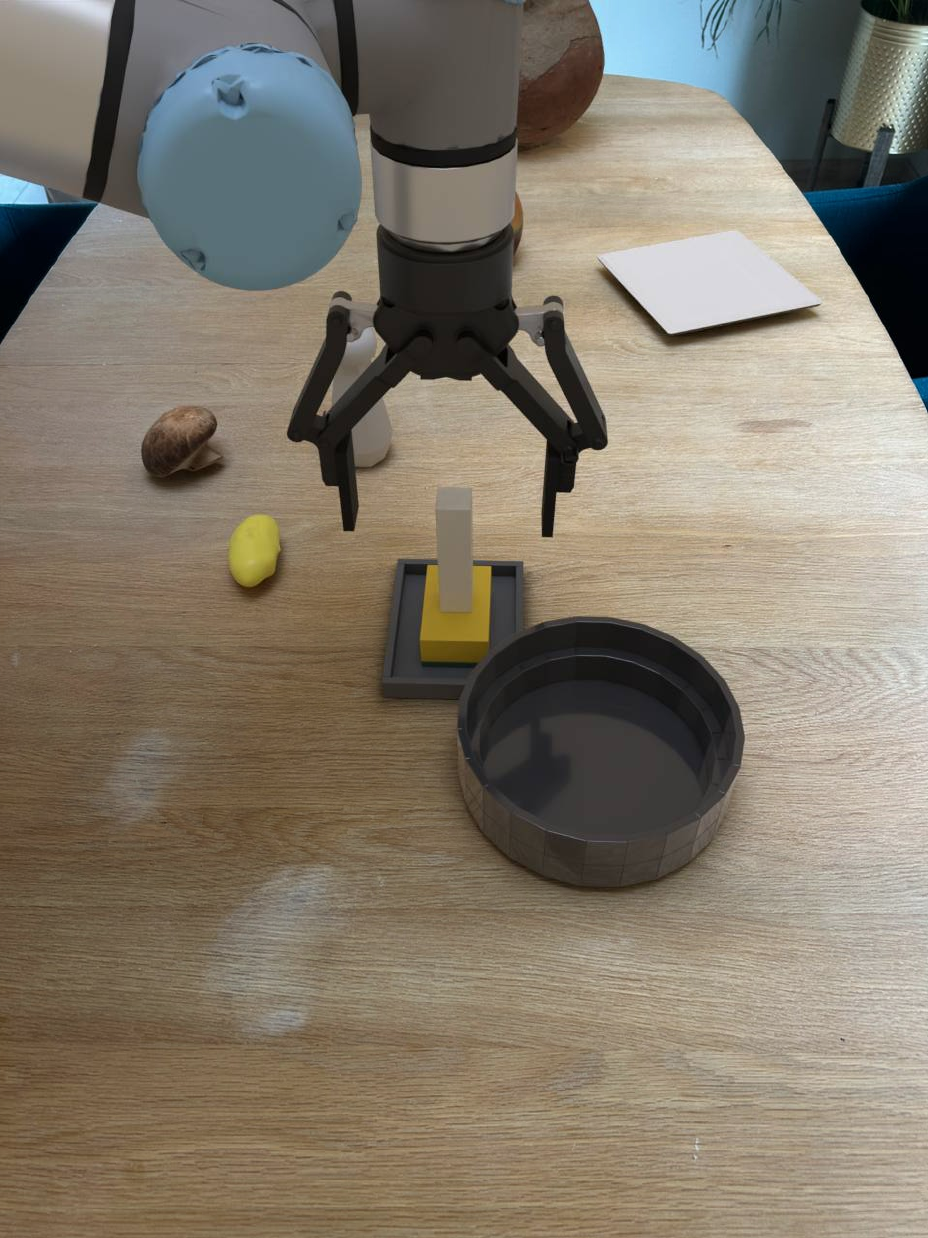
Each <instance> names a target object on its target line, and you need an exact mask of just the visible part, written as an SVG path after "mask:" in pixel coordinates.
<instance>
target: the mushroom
mask: <svg viewBox="0 0 928 1238" xmlns="http://www.w3.org/2000/svg"><path fill="white" fill-rule="evenodd" d="M217 428H218V421H217V417H216V416H215V414H214V413H213V412H212V411H211V410H209V409H208V408H206V407H203V406H200V405H199V406H197V405H184V406H183V405H182V406H177V407H174V408H172V409H170V410H167V411H166V412H164V413H163V414H162V415H161V416H159V418H157V420H156V421H154V423H152V425H151V426H150V427H149V429H148V430H147V431H146V433H145V436H144V437H143V440H142V442H141V447H140V448H141V449H140V455H141V461H142V464H143V466H144V468H145V470H146V471H147V472H148V473H149V474H150V475H152V476H153V477H157V478H164V477H167V476H169V475H172V474H173V473H175V472H177V471H179V470H183V469H184V470H185V469H186V470H189V471H190V472H196V471H199V470H201V469H203V468H206V467H208V466H210V465H212V464H215V463H217V462H219V461H221V460H222V459H224V456H223V455H221V454H220V453H218V452H217V451H215V450H213V448H211V446H209V444H208V442H209V440H210V439H212V437H213V436H214V435H215V432H216V431H217Z"/></svg>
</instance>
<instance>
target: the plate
mask: <svg viewBox="0 0 928 1238" xmlns="http://www.w3.org/2000/svg"><path fill="white" fill-rule="evenodd" d="M596 258H597V260H598V261H599V262H600V263H601V264H602V266H603V267H604V268H605V269H606V270H607V271H608V272H609V273H610V274H611V275H612V276H613V277H614V278H615V279H616V281H617V282H618V283H619V284H620V285H621V286H622V287H623V288H624V289H625V290H626V292H627V293H628V294H630V295H631V297H632V298H633V299H634V300H635V301H636V302H637V303H638V305H640V306H641V307H642V308H643V310H644V311H645V312H646V313H647V314H648V315H649V316H650V317H651V318H652V319H653V320H654V322H656V324H658V326H659V327H660V328H661V329H662V330H663V331H664V332H665V333H666V334H667V335H668V336H670V337H671V336H672V337H673V336H678V335H683V334H687V333H688V334H689V333H693V332H698V331H703V330H707V329H713V328H717V327H722V326H727V325H733V324H737V323H742V322H747V321H752V320H753V321H754V320H757V319H762V318H766V317H771V316H772V317H773V316H776V315H781V314H787V313H791V312H796V311H802V310H806V309H811V308H816V307H820V306H821V305H822V304H823V303H824V301H823V300H822V299H821V298H819V297H818V296H817V295H816V294H815V293H813V291H811V290H810V289H809V288H807V287H806V286H805V285H804V284H803V283H802V282H801V281H800V280H798V279H796V277H794V276H793V275H792V274H791V273H790V272H789V271H788V270H786V269H785V268H784V267H782V266H781V265H780V264H779V263H778V262H776V260H774V259H773V258H772V257H771V256H769V255H768V254H767V253H766V252H764V251H763V250H762V249H761V248H760V247H758V245H757V244H755V243H754V242H752V241H751V240H750V239H749V238H748V237H746V236H745V235H744V234H743V233H742V232H741V231H739V230H738V229H737V230H736V229H733V230H728V231H722V232H716V233H710V234H704V235H700V236H694V237H688V238H684V239H683V238H682V239H678V240H673V241H667V242H660V243H654V244H650V245H644V246H638V247H634V248H633V247H631V248H627V249H622V250H617V251H611V252H605V253H601V254H597V256H596Z"/></svg>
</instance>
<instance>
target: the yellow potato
mask: <svg viewBox="0 0 928 1238" xmlns="http://www.w3.org/2000/svg"><path fill="white" fill-rule="evenodd" d="M280 536H281V533H280V528H279V525H278V523H277V521H276V520H275V519H274V518H273V517H272V516H271V515H267V514H253V515H250V516H249V517H247V518H245V519H244V520H243V521H242V522H241V523H240V524H239V525H238V526H237V527H236V529H235V530H234V532H233V533H232V535H231V538H230V541H229V546H228V553H227V555H228V556H227V557H228V558H227V559H228V560H227V561H228V562H227V563H228V567H229V571H230V573H231V576H232V577H233V579H234V580H235V581H236V582H237V584H239V585H241V586H243V587H245V588H253V587H255V586H258V585H260V584H261V583H262V581H264V580H265V579H267V578H270V577H271V576H273V575H274V573H275V571H276V568H277V567H276V566H277V561H278V555H279V553H280V552H281V551H282V549H281V547H280V538H281V537H280Z"/></svg>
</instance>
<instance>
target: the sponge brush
mask: <svg viewBox="0 0 928 1238" xmlns="http://www.w3.org/2000/svg"><path fill="white" fill-rule="evenodd" d="M434 507H435V508H434V509H435V510H434V511H435V531H436V532H435V534H436V555H437V559H438V565H428V566H427V574H426V584H425V594H424V604H423V614H422V623H421V633H420V649H421V664H422V667H454V668H475V667H476V666H477V665H478V663H479V662H480V661H481V660H482V658H483V657H484V656H485V655H486V654H487V652H489V640H490V612H491V566H473V560H474V537H473V536H474V535H473V534H474V532H473V531H474V530H473V529H474V527H473V526H474V525H473V520H474V519H473V487H466V486H465V487H464V486H463V487H461V486H460V487H459V486H438V487H437V489H436V498H435V506H434Z"/></svg>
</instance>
